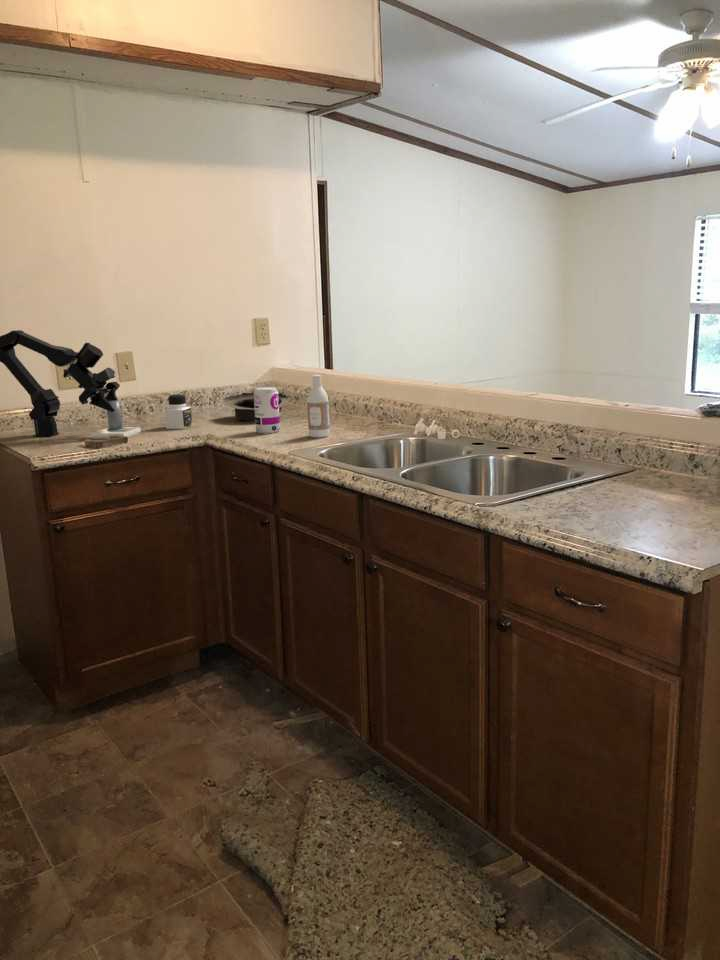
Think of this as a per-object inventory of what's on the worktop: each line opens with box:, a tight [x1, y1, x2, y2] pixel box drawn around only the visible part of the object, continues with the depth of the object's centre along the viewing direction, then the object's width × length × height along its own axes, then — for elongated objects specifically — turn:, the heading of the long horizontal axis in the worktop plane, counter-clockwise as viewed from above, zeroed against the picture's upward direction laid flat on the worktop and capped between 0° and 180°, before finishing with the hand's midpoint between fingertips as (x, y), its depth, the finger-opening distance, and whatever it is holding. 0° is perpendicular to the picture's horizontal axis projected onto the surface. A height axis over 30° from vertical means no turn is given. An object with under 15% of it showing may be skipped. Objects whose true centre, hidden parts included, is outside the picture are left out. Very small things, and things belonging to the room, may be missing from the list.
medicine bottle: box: [164, 393, 193, 430], centre depth 281 cm, size 7×7×12 cm
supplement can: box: [253, 386, 281, 435], centre depth 267 cm, size 8×8×15 cm
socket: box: [84, 435, 129, 449], centre depth 253 cm, size 8×11×2 cm
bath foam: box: [306, 374, 331, 439], centre depth 255 cm, size 7×7×20 cm
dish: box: [90, 426, 142, 440], centre depth 268 cm, size 12×12×2 cm
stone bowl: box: [223, 391, 290, 423], centre depth 297 cm, size 25×25×9 cm
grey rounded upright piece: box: [106, 400, 124, 432], centre depth 267 cm, size 6×6×10 cm
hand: (117, 409), depth 266 cm, fingers closed on grey rounded upright piece, 5 cm apart
